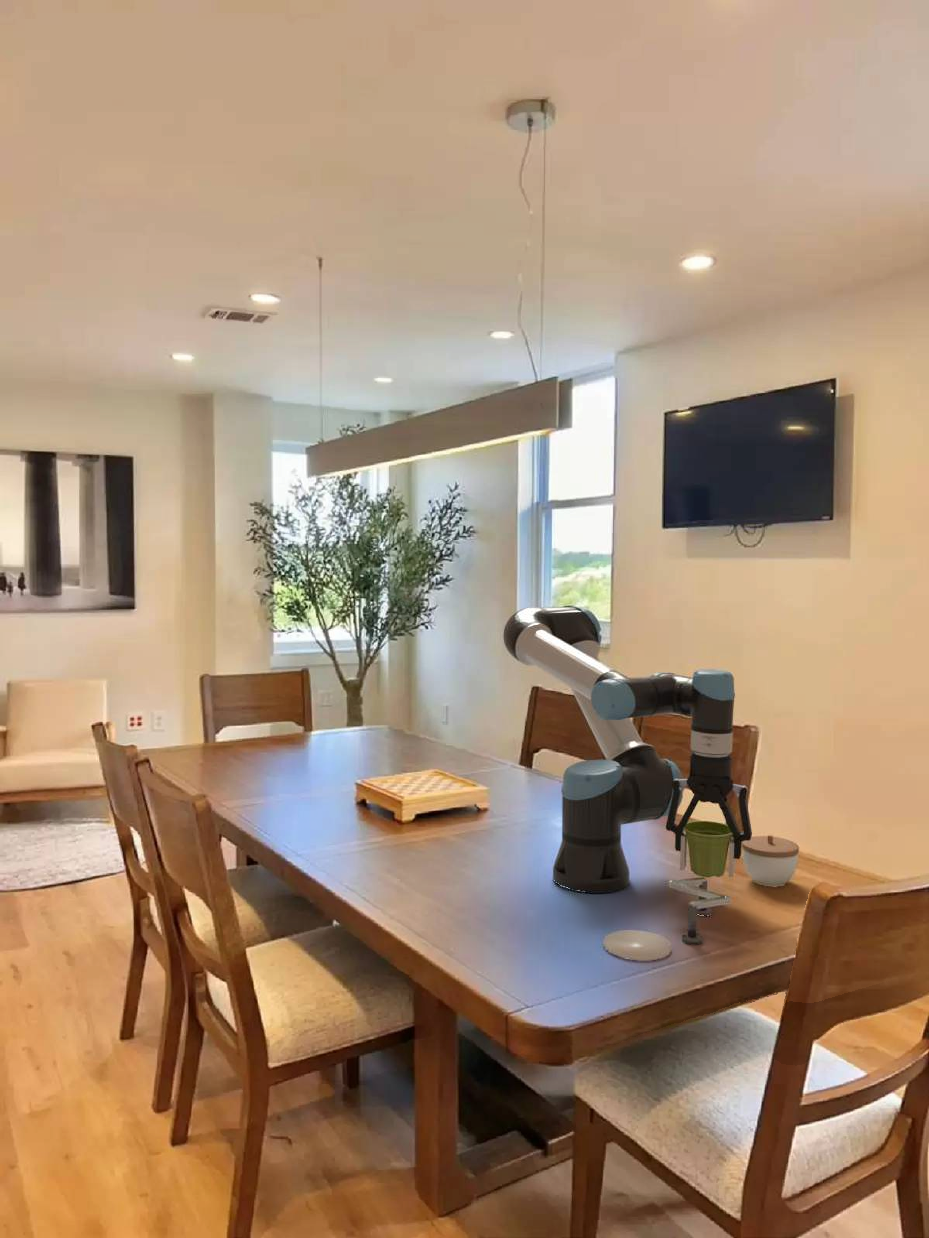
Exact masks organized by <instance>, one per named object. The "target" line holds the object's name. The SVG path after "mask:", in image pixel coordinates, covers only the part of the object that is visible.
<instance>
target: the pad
mask: <svg viewBox="0 0 929 1238" xmlns="http://www.w3.org/2000/svg"><path fill="white" fill-rule="evenodd" d="M603 944H604V945H603V948H604V947H605V948H606V949H607V950H608V951H610V952H611V953H612V954H614V955H617V956H619V957H621V958H620V959H622V958H628V959H630V960H629V961H632V960H637V961H636V962H653V961H652V960H656V961H658V960H657V959H660V960H662V959H661V958H663V959H665V958H667V957H668V956H670V954H671V953H672V943H671V942H670V941H669V940H668V939H667V938H666V937H664V936H662V935H660V934H657V933H655V932H650V931H647V930H646V931H645V930H640V929H639V930H638V929H626V930H625V929H624V930H623V929H622V930H618V931H613V932H611V933H608V934H607V935H606V936H605V937H604V938H603ZM605 948H604V949H605ZM670 952H671V953H670ZM612 954H611V955H612ZM614 955H613V956H614ZM666 956H667V957H666ZM619 957H618V958H619Z"/></svg>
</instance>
